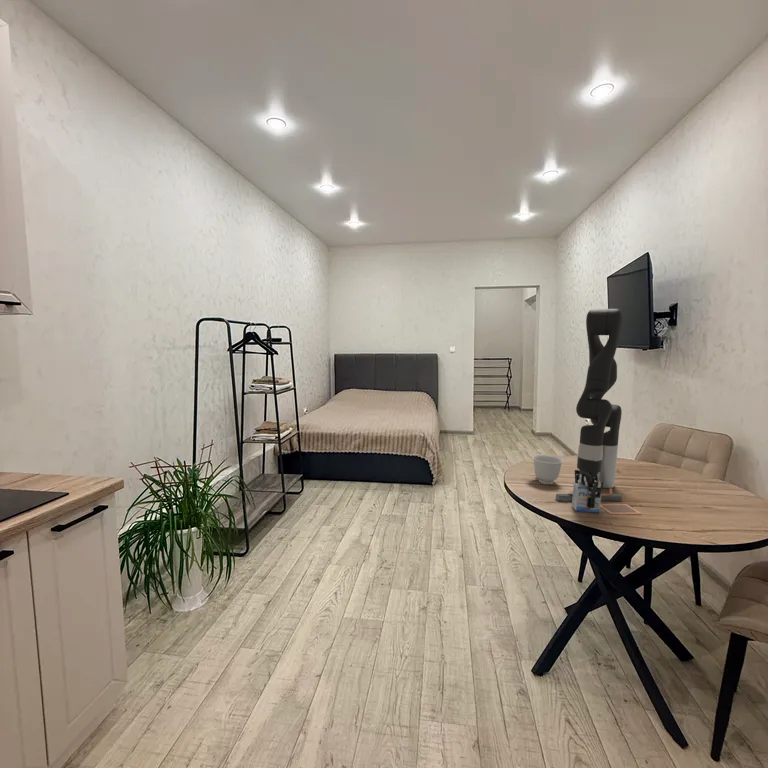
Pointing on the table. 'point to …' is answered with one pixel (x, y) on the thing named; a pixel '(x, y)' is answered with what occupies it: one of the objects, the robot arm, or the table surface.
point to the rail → (603, 497)
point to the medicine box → (583, 499)
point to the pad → (619, 509)
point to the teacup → (547, 468)
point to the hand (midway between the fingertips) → (586, 504)
